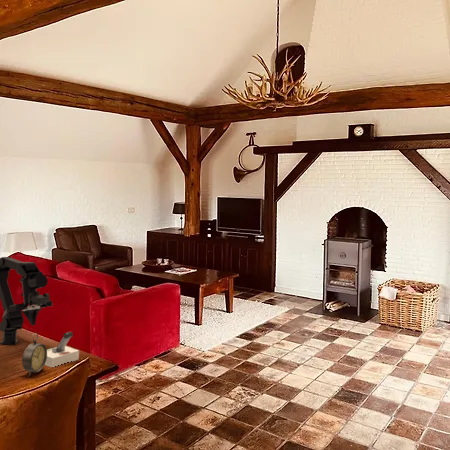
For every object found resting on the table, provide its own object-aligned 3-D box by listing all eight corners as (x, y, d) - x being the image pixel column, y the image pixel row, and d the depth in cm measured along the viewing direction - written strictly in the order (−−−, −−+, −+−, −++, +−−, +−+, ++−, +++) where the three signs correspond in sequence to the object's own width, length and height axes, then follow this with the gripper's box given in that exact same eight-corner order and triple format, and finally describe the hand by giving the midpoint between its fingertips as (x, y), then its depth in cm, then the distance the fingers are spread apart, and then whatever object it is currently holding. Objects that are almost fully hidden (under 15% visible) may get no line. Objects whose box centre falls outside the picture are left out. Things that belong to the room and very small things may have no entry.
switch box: (36, 361, 200) (37, 348, 199) (62, 354, 212) (63, 341, 211) (52, 367, 195) (53, 354, 194) (78, 359, 207) (79, 346, 206)
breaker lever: (54, 349, 202) (64, 332, 199) (60, 348, 205) (70, 330, 201) (57, 353, 201) (67, 335, 198) (63, 351, 204) (73, 334, 201)
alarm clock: (30, 379, 181) (33, 337, 180) (18, 377, 182) (21, 335, 182) (46, 369, 192) (49, 330, 191) (34, 367, 193) (37, 328, 192)
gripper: (22, 289, 199) (26, 327, 197) (58, 286, 215) (62, 320, 213) (6, 293, 204) (9, 329, 202) (42, 289, 220) (46, 323, 218)
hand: (33, 325), depth 209 cm, fingers closed
